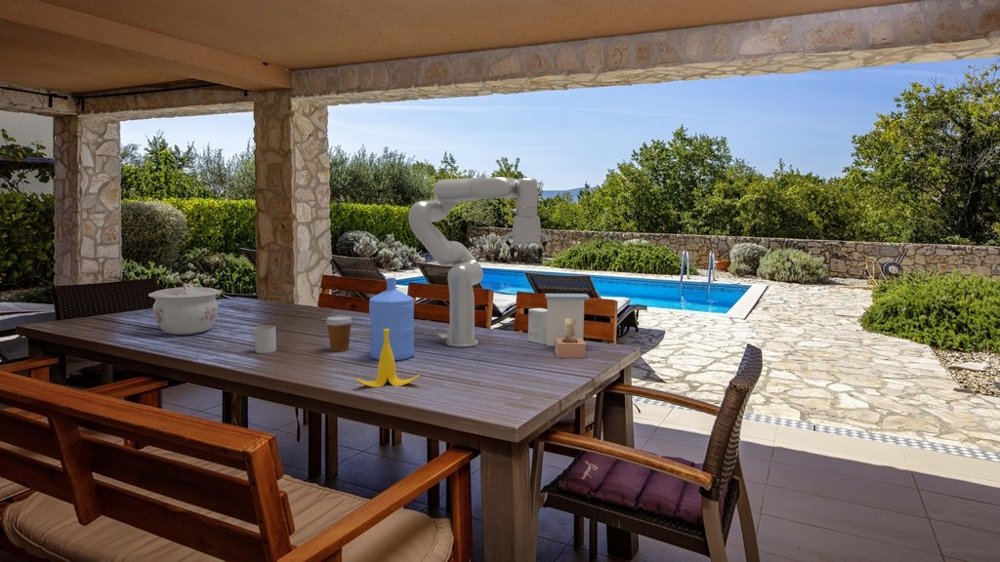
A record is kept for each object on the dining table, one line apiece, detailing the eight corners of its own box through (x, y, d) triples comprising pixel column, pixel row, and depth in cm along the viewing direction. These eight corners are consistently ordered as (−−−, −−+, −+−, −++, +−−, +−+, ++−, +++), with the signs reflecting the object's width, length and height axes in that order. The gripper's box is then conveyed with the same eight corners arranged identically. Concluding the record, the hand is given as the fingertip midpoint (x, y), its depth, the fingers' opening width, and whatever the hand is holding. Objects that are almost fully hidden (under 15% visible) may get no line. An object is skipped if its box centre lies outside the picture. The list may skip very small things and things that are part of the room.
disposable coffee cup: (343, 353, 230) (343, 320, 229) (321, 351, 233) (320, 319, 232) (357, 348, 239) (357, 316, 238) (335, 346, 242) (335, 315, 241)
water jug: (423, 356, 227) (422, 278, 224) (387, 363, 216) (386, 281, 212) (396, 349, 238) (395, 275, 234) (361, 356, 226) (359, 278, 223)
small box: (553, 342, 252) (553, 310, 251) (541, 344, 248) (541, 311, 247) (539, 339, 258) (539, 307, 257) (527, 341, 254) (528, 309, 253)
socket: (557, 357, 227) (557, 343, 226) (554, 351, 237) (554, 338, 236) (585, 357, 227) (585, 344, 226) (581, 351, 237) (581, 338, 236)
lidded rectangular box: (545, 349, 239) (546, 296, 237) (544, 344, 247) (545, 293, 245) (588, 349, 240) (589, 296, 237) (585, 345, 248) (586, 293, 245)
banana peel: (353, 390, 185) (352, 333, 183) (383, 374, 203) (383, 322, 201) (405, 395, 180) (405, 337, 179) (431, 378, 199) (431, 325, 197)
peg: (565, 353, 230) (565, 320, 228) (563, 350, 233) (564, 318, 232) (576, 353, 230) (576, 320, 228) (574, 350, 234) (575, 318, 232)
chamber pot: (185, 341, 249) (182, 288, 246) (134, 335, 259) (131, 285, 256) (238, 328, 275) (236, 281, 272) (190, 324, 285) (187, 278, 282)
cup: (251, 353, 229) (250, 329, 228) (264, 347, 239) (263, 324, 238) (271, 353, 228) (270, 329, 227) (282, 347, 238) (282, 324, 237)
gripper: (503, 212, 229) (502, 259, 231) (551, 212, 229) (550, 259, 231) (502, 212, 236) (502, 257, 238) (549, 212, 236) (548, 258, 238)
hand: (526, 258), depth 234 cm, fingers open, 9 cm apart
